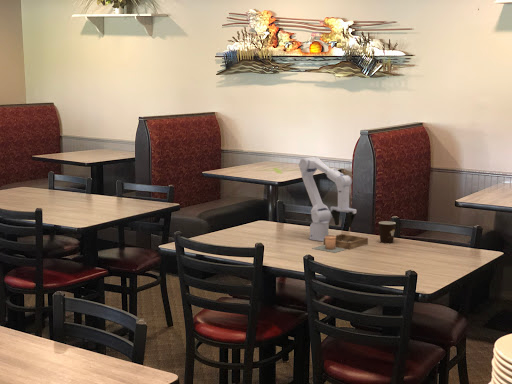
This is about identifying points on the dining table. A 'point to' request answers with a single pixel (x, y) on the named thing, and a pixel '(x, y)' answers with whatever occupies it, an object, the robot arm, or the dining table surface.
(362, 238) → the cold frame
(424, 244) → the dining table surface
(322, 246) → the rubber mat
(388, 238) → the coffee mug
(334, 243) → the terracotta pot
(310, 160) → the robot arm
